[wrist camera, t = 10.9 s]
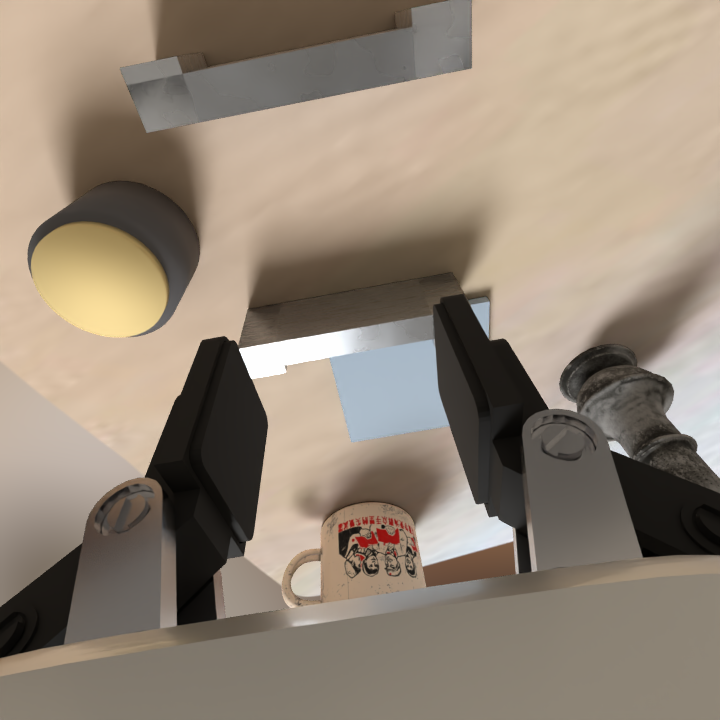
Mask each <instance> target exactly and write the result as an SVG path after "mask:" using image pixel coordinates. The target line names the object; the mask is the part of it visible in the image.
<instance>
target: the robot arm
mask: <svg viewBox="0 0 720 720" xmlns="http://www.w3.org/2000/svg"><path fill="white" fill-rule="evenodd" d="M433 318H434V333H435V348H436V364H437V379H438V389H439V394H440V398H441V401H442V404H443V407H444V410H445V413H446V416H447V419H448V422H449V425H450V428H451V431H452V434H453V437H454V440H455V443H456V446H457V449H458V452H459V455H460V458H461V461H462V464H463V467H464V470H465V473H466V476H467V479H468V482H469V485H470V488H471V491H472V494H473V497H474V500H475V502H476V504H482V503H484V505H485V507H486V510H487V513H488V516H489V517H494V516H498V518H499V520H501V521H502V522H504V523H506V524H508V525H510V526H511V527H513V540H514V553H515V567H516V574H515V575H508V576H501V577H494V578H488V579H481V580H474V581H467V582H461V583H454V584H447V585H440V586H434V587H427V588H420V589H413V590H406V591H400V592H393V593H387V594H380V595H373V596H367V597H360V598H354V599H347V600H340V601H334V602H327V603H321V604H314V605H308V606H301V607H295V608H288V609H282V610H276V611H269V612H262V613H256V614H249V615H243V616H236V617H230V618H226V616H225V606H224V597H223V586H222V576H221V571H220V568H221V567H222V566H223V565H225V564H226V561H227V559H228V558H235V557H241V556H244V552H245V545H246V541H250V540H251V539H252V538H253V534H254V527H255V520H256V512H257V505H258V497H259V490H260V482H261V474H262V467H263V459H264V452H265V444H266V437H267V429H268V421H267V416H266V413H265V410H264V408H263V405H262V403H261V401H260V398H259V396H258V393H257V391H256V389H255V386H254V384H253V381H252V379H251V377H250V374H249V372H248V369H247V367H246V365H245V362H244V360H243V357H242V355H241V352H240V350H239V348H238V345H237V343H236V342H235V341H234V340H232V341H229V340H228V339H227V337H225V336H223V337H217V338H211V339H206V340H202V342H201V343H200V346H199V349H198V351H197V354H196V356H195V359H194V361H193V364H192V367H191V369H190V372H189V374H188V377H187V380H186V382H185V385H184V387H183V390H182V392H181V395H179V396H178V397H177V398H176V400H175V402H174V405H173V407H172V410H171V412H170V415H169V417H168V420H167V422H166V425H165V427H164V430H163V432H162V435H161V437H160V440H159V442H158V445H157V447H156V450H155V452H154V455H153V457H152V460H151V462H150V465H149V468H148V470H147V473H146V475H145V478H136V479H132V480H128V481H126V482H124V483H122V484H120V485H118V486H116V487H114V488H113V489H112V490H110V491H109V492H107V493H106V494H105V495H104V496H103V497H102V498H101V499H100V500H99V501H98V502H97V503H96V505H95V506H94V508H93V509H92V511H91V512H90V514H89V516H88V519H87V522H86V527H85V532H84V537H83V543H82V544H81V545H79V546H78V547H77V548H75V549H74V550H73V551H71V552H70V553H69V554H68V555H66V556H65V557H64V558H63V559H61V560H60V561H59V562H57V563H56V564H55V565H54V566H53V567H51V568H50V569H48V570H47V571H46V572H45V573H43V574H42V575H41V576H40V577H38V578H37V579H36V580H34V581H33V582H32V583H31V584H29V585H28V586H27V587H25V588H24V589H23V590H22V591H20V592H19V593H18V594H17V595H15V596H14V597H13V598H11V599H10V600H9V601H8V602H6V603H5V604H4V605H2V606H1V607H0V720H720V493H718V492H716V491H713V490H711V489H708V488H706V487H703V486H701V485H698V484H695V483H693V482H690V481H688V480H685V479H683V478H680V477H678V476H675V475H672V474H670V473H667V472H665V471H662V470H660V469H657V468H655V467H652V466H650V465H647V464H644V463H642V462H639V461H637V460H634V459H632V458H629V457H627V456H624V455H621V454H619V453H616V452H614V451H611V450H610V448H609V444H608V441H607V438H606V436H605V434H604V432H603V430H602V429H601V428H600V427H599V426H598V425H597V424H596V423H595V422H594V421H593V420H591V419H589V418H588V417H586V416H584V415H582V414H579V413H576V412H573V411H570V410H563V409H548V407H547V405H546V404H545V402H544V400H543V399H542V397H541V395H540V394H539V392H538V391H537V389H536V387H535V386H534V384H533V382H532V381H531V379H530V377H529V376H528V374H527V373H526V371H525V369H524V368H523V366H522V364H521V363H520V361H519V359H518V358H517V356H516V355H515V353H514V351H513V350H512V348H511V346H510V345H509V343H508V342H507V341H506V340H505V339H498V340H492V341H490V340H489V339H488V337H487V335H486V333H485V331H484V330H483V328H482V326H481V324H480V322H479V321H478V319H477V317H476V315H475V313H474V312H473V310H472V308H471V306H470V304H469V303H468V301H467V299H466V297H465V295H464V294H458V295H452V296H446V297H441V298H440V304H434V305H433Z"/></svg>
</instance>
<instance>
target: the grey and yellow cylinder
mask: <svg viewBox="0 0 720 720" xmlns="http://www.w3.org/2000/svg"><path fill="white" fill-rule="evenodd" d="M199 256H200V247H199V241H198V237H197V234H196V231H195V229H194V227H193V225H192V223H191V222H190V220H189V218H188V217H187V216H186V214H185V213H184V212H183V210H182V209H181V208H180V207H179V206H178V205H177V204H176V203H174V202H173V201H172V200H171V199H170V198H168V197H167V196H165V195H164V194H162V193H161V192H159V191H157V190H155V189H153V188H151V187H148V186H146V185H143V184H139V183H135V182H129V181H114V182H108V183H104V184H101V185H99V186H97V187H95V188H93V189H92V190H90V191H89V192H87V193H86V194H84V195H83V196H81V197H80V198H79V199H77V200H76V201H74V202H73V203H71V204H70V205H68V206H67V207H66V208H64V209H63V210H61V211H60V212H58V213H57V214H55V215H54V216H52V217H51V218H50V219H48V220H47V221H45V222H44V223H43V224H41V225H40V226H39V227H38V228H37V230H36V231H35V233H34V234H33V236H32V238H31V240H30V243H29V247H28V265H29V270H30V273H31V276H32V278H33V280H34V283H35V286H36V288H37V290H38V292H39V293H40V295H41V297H42V298H43V299H44V301H45V302H46V303H47V304H48V305H49V306H50V308H51V309H52V310H53V311H55V312H56V313H57V314H58V315H59V316H60V317H62V318H63V319H65V320H66V321H67V322H69V323H71V324H72V325H74V326H76V327H78V328H80V329H82V330H85V331H87V332H90V333H93V334H97V335H101V336H106V337H136V336H141V335H146V334H148V333H151V332H153V331H155V330H157V329H159V328H160V327H162V326H163V325H164V324H165V323H166V322H167V321H168V320H169V319H170V318H171V316H172V315H173V313H174V312H175V310H176V308H177V306H178V304H179V302H180V300H181V298H182V296H183V294H184V292H185V290H186V288H187V286H188V284H189V282H190V280H191V279H192V277H193V275H194V273H195V271H196V268H197V266H198V262H199Z"/></svg>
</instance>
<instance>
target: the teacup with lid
mask: <svg viewBox="0 0 720 720" xmlns="http://www.w3.org/2000/svg"><path fill="white" fill-rule="evenodd" d="M311 561H321V600H318V601H308V600H302V599H300V598H298V597H297V596H296V595H295V594H294V593H293V591H292V589H291V578H292V576H293V574H294V572H295V571H296V570H297V569H298V567H300V566H301V565H302V564H304V563H307V562H311ZM420 588H426V584H425V578H424V573H423V568H422V563H421V558H420V552H419V547H418V542H417V537H416V532H415V526H414V523H413V520H412V518H411V517H410V515H409V514H408V513H407V512H405V511H404V510H402V509H401V508H399V507H397V506H394V505H391V504H386V503H379V502H367V503H359V504H354V505H351V506H348V507H345V508H343V509H340V510H339V511H337V512H335V513H334V514H332V515H331V516H330V517H329V518H328V519H327V520H326V521H325V523H324V524H323V526H322V529H321V549H310V550H305V551H303V552H301V553H299V554H298V555H296V556H295V557H294V558H293V559H292V560H291V562H290V563H289V564H288V566H287V568H286V570H285V573H284V576H283V581H282V595H283V598H284V600H285V602H286V604H287V605H288V606H289V607H290V608H295V607H301V606H308V605H314V604H321V603H327V602H334V601H340V600H347V599H354V598H360V597H367V596H373V595H380V594H387V593H393V592H400V591H406V590H413V589H420Z"/></svg>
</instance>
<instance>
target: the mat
mask: <svg viewBox="0 0 720 720" xmlns="http://www.w3.org/2000/svg"><path fill="white" fill-rule="evenodd" d="M468 301H469V303H470V305H471V307H472V310H473V312H474V313H475V315H476V317H477V319H478V321H479V322H480V324H481V326H482V328H483V330H484V331H485V333H486V335H487V337H488V339H489V306H490V301H489V300H488V298H487V297H481V298H476V299H470V300H468ZM329 358H330V362H331V366H332V370H333V374H334V377H335V381H336V385H337V389H338V393H339V397H340V401H341V404H342V408H343V412H344V416H345V420H346V424H347V428H348V432H349V435H350V439H351V442H357V441H363V440H369V439H375V438H381V437H387V436H393V435H399V434H405V433H411V432H417V431H423V430H429V429H435V428H441V427H447V426H450V425H449V422H448V419H447V416H446V413H445V410H444V407H443V404H442V401H441V398H440V394H439V389H438V379H437V364H436V348H435V347H434V344H433V342H432V340H426V341H420V342H414V343H409V344H403V345H397V346H392V347H386V348H380V349H375V350H369V351H363V352H357V353H352V354H346V355H340V356H335V357H329Z"/></svg>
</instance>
